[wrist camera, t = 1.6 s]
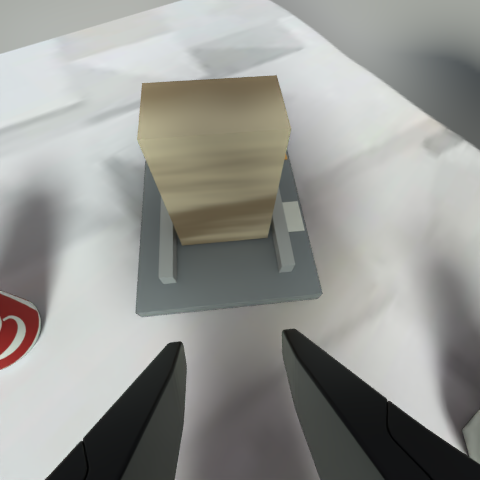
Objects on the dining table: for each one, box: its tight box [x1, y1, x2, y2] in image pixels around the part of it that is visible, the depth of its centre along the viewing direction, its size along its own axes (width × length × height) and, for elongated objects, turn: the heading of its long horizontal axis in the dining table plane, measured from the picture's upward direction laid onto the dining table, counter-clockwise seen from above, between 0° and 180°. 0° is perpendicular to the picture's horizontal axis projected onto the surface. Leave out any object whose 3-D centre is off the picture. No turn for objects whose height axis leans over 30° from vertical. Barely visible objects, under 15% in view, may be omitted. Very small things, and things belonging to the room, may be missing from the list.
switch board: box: [136, 150, 323, 317], centre depth 25 cm, size 22×14×3 cm, turn 6°
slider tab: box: [137, 75, 291, 246], centre depth 18 cm, size 4×7×11 cm, turn 96°
